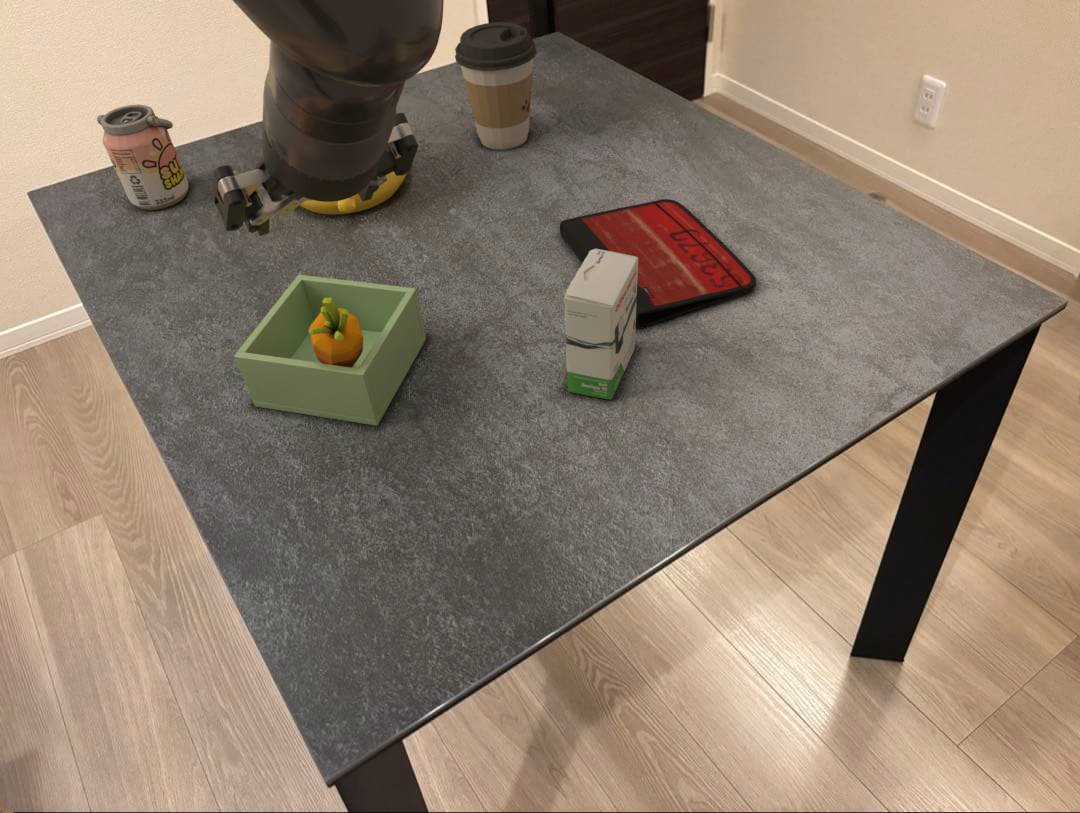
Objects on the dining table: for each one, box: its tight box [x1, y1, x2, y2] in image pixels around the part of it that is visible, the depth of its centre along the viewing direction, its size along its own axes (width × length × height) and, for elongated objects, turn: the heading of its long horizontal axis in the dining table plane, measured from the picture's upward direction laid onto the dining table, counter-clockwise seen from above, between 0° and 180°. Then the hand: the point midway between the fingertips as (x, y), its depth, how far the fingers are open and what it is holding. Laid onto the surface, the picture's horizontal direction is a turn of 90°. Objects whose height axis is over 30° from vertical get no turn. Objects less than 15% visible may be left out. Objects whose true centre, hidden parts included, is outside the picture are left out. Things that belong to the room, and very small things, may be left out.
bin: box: [233, 274, 427, 427], centre depth 85 cm, size 14×14×7 cm
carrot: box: [309, 297, 363, 368], centre depth 79 cm, size 5×5×15 cm
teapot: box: [286, 172, 408, 215], centre depth 111 cm, size 25×18×14 cm
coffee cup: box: [454, 21, 538, 151], centre depth 117 cm, size 11×11×15 cm
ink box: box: [563, 249, 638, 400], centre depth 81 cm, size 9×5×12 cm, turn 159°
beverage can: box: [96, 104, 189, 211], centre depth 112 cm, size 9×8×12 cm
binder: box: [559, 198, 757, 330], centre depth 97 cm, size 16×2×21 cm
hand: (310, 206), depth 65 cm, fingers open, 8 cm apart
